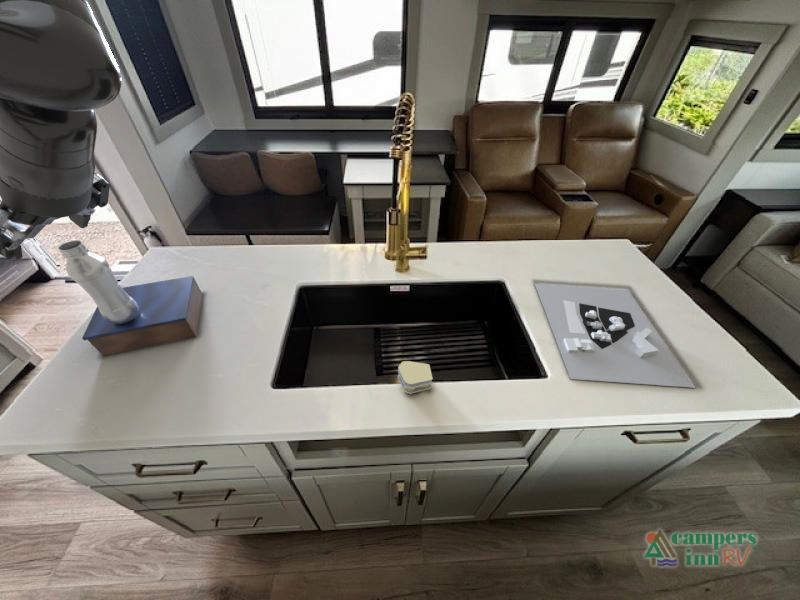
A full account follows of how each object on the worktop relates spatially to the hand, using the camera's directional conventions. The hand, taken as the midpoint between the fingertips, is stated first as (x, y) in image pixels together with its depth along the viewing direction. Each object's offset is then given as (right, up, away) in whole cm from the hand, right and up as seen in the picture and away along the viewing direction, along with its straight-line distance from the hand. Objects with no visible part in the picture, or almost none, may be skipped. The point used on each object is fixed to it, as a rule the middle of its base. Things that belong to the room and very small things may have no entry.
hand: (46, 237), depth 45 cm
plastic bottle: (-15, -13, +31) cm, 37 cm away
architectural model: (+105, -17, +44) cm, 115 cm away
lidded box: (-14, -15, +40) cm, 45 cm away
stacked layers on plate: (+52, -28, +29) cm, 66 cm away
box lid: (-14, -10, +35) cm, 39 cm away
